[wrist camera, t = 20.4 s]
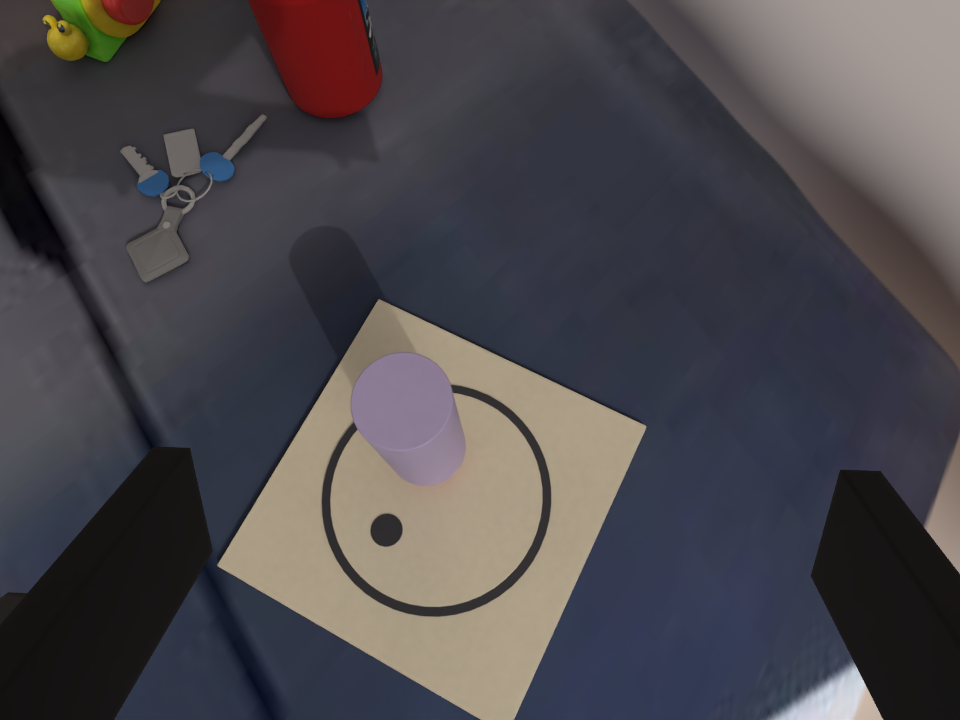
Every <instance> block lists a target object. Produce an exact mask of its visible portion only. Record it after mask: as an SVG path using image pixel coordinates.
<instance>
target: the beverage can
mask: <svg viewBox="0 0 960 720" xmlns="http://www.w3.org/2000/svg"><path fill="white" fill-rule="evenodd" d="M248 1H249V4H250V6H251V8H252V11H253V13H254V15H255V18H256V20H257V22H258V25H259V27H260V29H261V32H262V34H263V36H264V39H265V41H266V43H267V46H268V48H269V50H270V52H271V55H272V57H273V59H274V61H275V64H276V66H277V68H278V71H279V73H280V75H281V77H282V79H283V82H284V84H285V86H286V88H287V90H288V93H289V95H290V97H291V99H292V100H293V102H294V103H295V104H296V105H297V106H298V107H299V108H300V109H302V110H303V111H305V112H307V113H309V114H311V115H314V116H317V117H322V118H338V117H344V116H347V115H350V114H353V113H355V112H357V111H359V110H361V109H362V108H364V107H365V106H366V105H368V104H369V103H370V102H371V101H372V100H373V98H374V97H375V96H376V94H377V92H378V91H379V88H380V86H381V82H382V68H381V63H380V59H379V54H378V49H377V45H376V40H375V36H374V32H373V27H372V23H371V19H370V14H369V10H368V6H367V2H366V0H248Z"/></svg>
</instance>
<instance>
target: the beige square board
mask: <svg viewBox="0 0 960 720" xmlns="http://www.w3.org/2000/svg"><path fill="white" fill-rule="evenodd" d="M398 352H410V353H416V354H420V355H422V356H425V357H427V358H429V359H431V360H432V361H434V362H435V363H436V364H437V365H438V366H439V367H440V368H441V369H442V370H443V371H444V373H445V374H446V376H447V377H448V379H449V382H450V384H451V388H452V391H453V395H454V399H455V402H456V406H457V410H458V414H459V417H460V421H461V425H462V429H463V432H464V436H465V441H466V451H465V456H464V460H463V462H462V464H461V466H460V467H459V469H458V470H457V472H456V473H455V474H454V475H453V476H452V477H450V478H449V479H448V480H446V481H444V482H442V483H440V484H437V485H433V486H417V485H414V484H411V483H409V482H407V481H405V480H403V479H402V478H401V477H400V476H399V475H398V474H397V473H396V472H395V471H394V470H393V469H392V468H391V467H390V466H389V464H388V463H387V462H386V461H385V460H384V459H383V458H382V457H381V456H380V454H379V453H378V452H377V451H376V450H375V449H374V448H373V447H372V446H371V444H370V443H369V442H368V441H367V440H366V439H365V438H364V437H363V436H362V434H361V433H360V432H359V430H358V429H357V427H356V425H355V423H354V421H353V418H352V414H351V404H350V403H351V395H352V390H353V387H354V385H355V383H356V381H357V379H358V377H359V376H360V374H361V373H362V372H363V371H364V369H365V368H366V367H368V366H369V365H370V364H371V363H372V362H374V361H375V360H377V359H379V358H381V357H383V356H386V355H388V354H392V353H398ZM646 427H647V426H645V425H643V424H641V423H639V422H637V421H635V420H632V419H630V418H628V417H626V416H624V415H622V414H620V413H618V412H616V411H614V410H611V409H609V408H607V407H605V406H603V405H601V404H599V403H597V402H595V401H593V400H590V399H588V398H586V397H584V396H582V395H580V394H578V393H576V392H574V391H571V390H569V389H567V388H565V387H563V386H561V385H559V384H557V383H555V382H553V381H550V380H548V379H546V378H544V377H542V376H540V375H538V374H536V373H534V372H531V371H529V370H527V369H525V368H523V367H521V366H519V365H517V364H515V363H513V362H510V361H508V360H506V359H504V358H502V357H500V356H498V355H496V354H494V353H491V352H489V351H487V350H485V349H483V348H481V347H479V346H477V345H475V344H473V343H470V342H468V341H466V340H464V339H462V338H460V337H458V336H456V335H454V334H452V333H449V332H447V331H445V330H443V329H441V328H439V327H437V326H435V325H433V324H430V323H428V322H426V321H424V320H422V319H420V318H418V317H416V316H414V315H412V314H409V313H407V312H405V311H403V310H401V309H399V308H397V307H395V306H393V305H390V304H388V303H386V302H384V301H382V300H380V299H378V301H377V303H376V304H375V306H374V308H373V309H372V311H371V313H370V314H369V316H368V318H367V319H366V321H365V322H364V324H363V326H362V327H361V329H360V331H359V332H358V334H357V336H356V337H355V339H354V341H353V342H352V344H351V346H350V347H349V349H348V351H347V352H346V354H345V355H344V357H343V359H342V360H341V362H340V364H339V365H338V367H337V369H336V370H335V372H334V374H333V375H332V377H331V379H330V380H329V382H328V383H327V385H326V387H325V388H324V390H323V392H322V393H321V395H320V397H319V398H318V400H317V402H316V403H315V405H314V407H313V408H312V410H311V412H310V413H309V415H308V416H307V418H306V420H305V421H304V423H303V425H302V426H301V428H300V430H299V431H298V433H297V435H296V436H295V438H294V440H293V441H292V443H291V444H290V446H289V448H288V449H287V451H286V453H285V454H284V456H283V458H282V459H281V461H280V463H279V464H278V466H277V468H276V469H275V471H274V473H273V474H272V476H271V477H270V479H269V481H268V482H267V484H266V486H265V487H264V489H263V491H262V492H261V494H260V496H259V497H258V499H257V501H256V502H255V504H254V505H253V507H252V509H251V510H250V512H249V514H248V515H247V517H246V519H245V520H244V522H243V524H242V525H241V527H240V529H239V530H238V532H237V534H236V535H235V537H234V538H233V540H232V542H231V543H230V545H229V547H228V548H227V550H226V552H225V553H224V555H223V557H222V558H221V560H220V562H219V563H218V565H217V566H218V567H220V568H222V569H223V570H225V571H227V572H229V573H230V574H232V575H234V576H235V577H237V578H239V579H241V580H242V581H244V582H246V583H247V584H249V585H251V586H253V587H254V588H256V589H258V590H259V591H261V592H263V593H265V594H266V595H268V596H270V597H271V598H273V599H275V600H277V601H278V602H280V603H282V604H283V605H285V606H287V607H289V608H290V609H292V610H294V611H295V612H297V613H299V614H301V615H302V616H304V617H306V618H307V619H309V620H311V621H313V622H314V623H316V624H318V625H319V626H321V627H323V628H325V629H326V630H328V631H330V632H331V633H333V634H335V635H337V636H338V637H340V638H342V639H343V640H345V641H347V642H349V643H350V644H352V645H354V646H355V647H357V648H359V649H361V650H362V651H364V652H366V653H367V654H369V655H371V656H373V657H374V658H376V659H378V660H379V661H381V662H383V663H385V664H386V665H388V666H390V667H391V668H393V669H395V670H397V671H398V672H400V673H402V674H403V675H405V676H407V677H409V678H410V679H412V680H414V681H415V682H417V683H419V684H421V685H422V686H424V687H426V688H427V689H429V690H431V691H433V692H434V693H436V694H438V695H439V696H441V697H443V698H445V699H446V700H448V701H450V702H451V703H453V704H455V705H457V706H458V707H460V708H462V709H463V710H465V711H467V712H469V713H470V714H472V715H474V716H475V717H477V718H479V719H481V720H514V718H515V716H516V714H517V712H518V709H519V707H520V705H521V703H522V701H523V698H524V696H525V694H526V692H527V690H528V687H529V685H530V683H531V681H532V679H533V676H534V674H535V672H536V670H537V668H538V665H539V663H540V661H541V659H542V657H543V654H544V652H545V650H546V648H547V646H548V643H549V641H550V639H551V637H552V634H553V632H554V630H555V628H556V626H557V623H558V621H559V619H560V617H561V615H562V612H563V610H564V608H565V606H566V604H567V601H568V599H569V597H570V595H571V593H572V590H573V588H574V586H575V584H576V582H577V579H578V577H579V575H580V573H581V571H582V568H583V566H584V564H585V562H586V559H587V557H588V555H589V553H590V551H591V548H592V546H593V544H594V542H595V540H596V537H597V535H598V533H599V531H600V529H601V526H602V524H603V522H604V520H605V518H606V515H607V513H608V511H609V509H610V507H611V504H612V502H613V500H614V498H615V495H616V493H617V491H618V489H619V487H620V484H621V482H622V480H623V478H624V476H625V473H626V471H627V469H628V467H629V465H630V462H631V460H632V458H633V456H634V454H635V451H636V449H637V447H638V445H639V443H640V440H641V438H642V436H643V434H644V432H645V429H646Z"/></svg>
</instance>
